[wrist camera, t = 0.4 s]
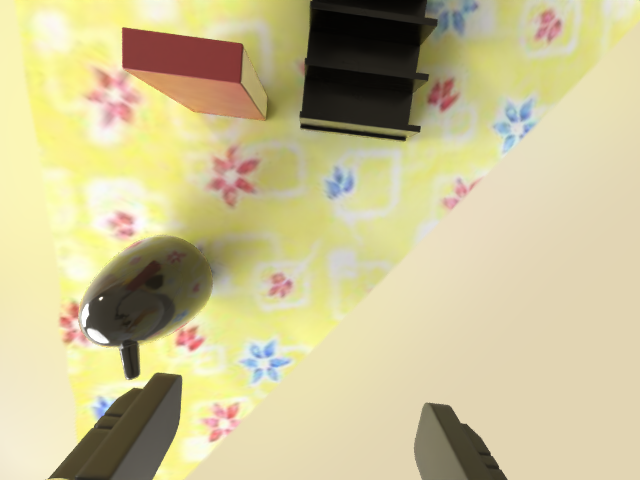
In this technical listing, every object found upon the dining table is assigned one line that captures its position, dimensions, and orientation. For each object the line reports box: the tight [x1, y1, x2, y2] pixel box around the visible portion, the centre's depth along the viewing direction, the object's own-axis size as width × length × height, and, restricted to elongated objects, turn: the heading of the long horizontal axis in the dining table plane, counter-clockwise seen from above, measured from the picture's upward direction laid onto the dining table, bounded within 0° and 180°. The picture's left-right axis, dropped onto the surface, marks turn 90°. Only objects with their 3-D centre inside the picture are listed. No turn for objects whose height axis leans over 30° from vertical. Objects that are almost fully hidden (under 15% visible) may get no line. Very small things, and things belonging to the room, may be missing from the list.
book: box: [122, 27, 268, 121], centre depth 29 cm, size 3×8×14 cm, turn 84°
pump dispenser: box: [78, 235, 213, 380], centre depth 31 cm, size 10×10×15 cm
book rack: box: [300, 0, 438, 142], centre depth 32 cm, size 16×12×6 cm
